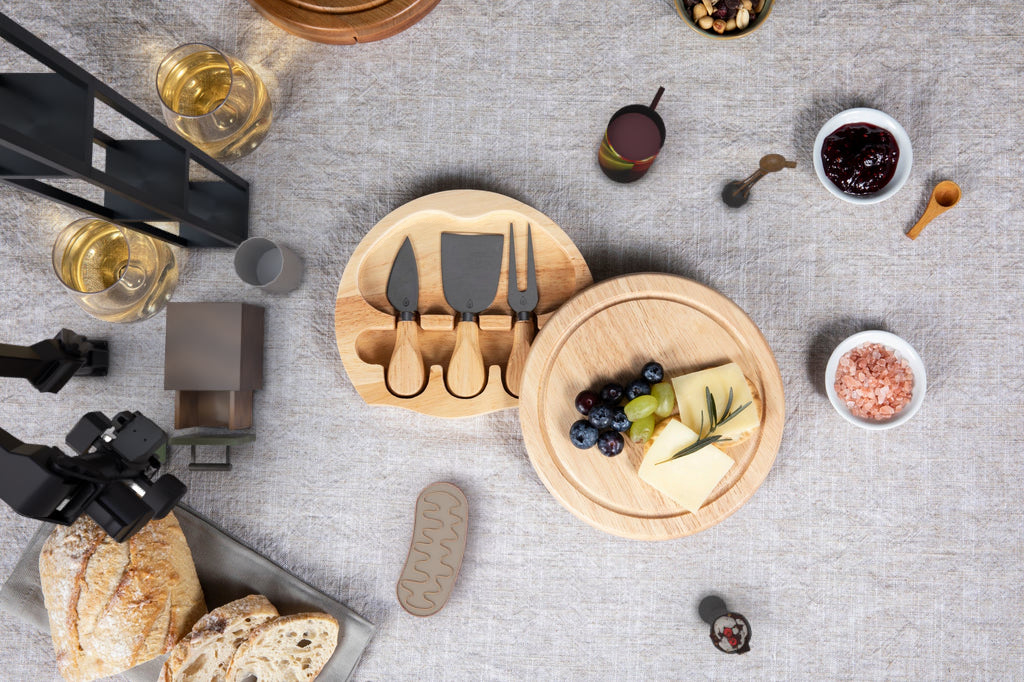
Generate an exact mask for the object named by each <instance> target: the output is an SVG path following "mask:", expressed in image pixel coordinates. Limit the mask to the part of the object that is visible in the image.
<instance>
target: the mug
mask: <svg viewBox="0 0 1024 682" xmlns="http://www.w3.org/2000/svg"><path fill="white" fill-rule="evenodd" d="M665 91H666V88H665V87H664V86H662V85H660V86H659V88H658V90H657V91H656V93H655V95H654V97H653V99H652V100H651V102H650V104H649V106H648V105H645V104H641V103H631V104H627V105H624V106H621V108H619V109H618V110H617V111H615V112H614V113H613V115H612V116H611V117H610V119H609V120H608V122H607V126H606V129H605V131H604V135H603V137H602V141H601V143H600V147H599V149H598V154H597V160H598V165H599V168H600V170H601V171H602V173H603V174H604V175H605V176H606V177H607V178H608V179H609V180H611V181H613V182H615V183H618V184H631V183H635V182H637V181H639V180H641V179H642V178H643V177H644V176H645V175H646V174H647V173H648V171H649V169H650V168H651V166H652V165H653V163H654V162H655V160H656V158H657V157H658V155H659V153H660V152H661V150H662V148H663V147H664V145H665V143H666V139H667V128H666V124H665V122H664V120H663V118H662V116H661V115H660V113H658V112H657V111H656V109H657V107H658V105H659V103H660V101H661V99H662V98H663V97H662V96H663V95H664V93H665Z"/></svg>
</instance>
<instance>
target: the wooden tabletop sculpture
mask: <svg viewBox="0 0 1024 682" xmlns="http://www.w3.org/2000/svg"><path fill="white" fill-rule="evenodd" d="M797 165H798V161H796V160H795V161H794V160H787V159H786V157H785V156H783V155H782V154H780V153H768V154H765V155H763V156H762V157H760V159H759V161H758V167H759V168H757V170H755V171H754V172H753V173H751V174H750V175H749V176H748V177H746V178H744V179H743V180H735V179H734V180H732V181H730V182H728V183H727V184H725V185H724V187H723V188H722V190H721V192H720V194H721V200H722V202H723V203H724V204H725V205H726V206H727V207H728V208H732V209H739V208H741V207H742V206H744V205H746V204H747V203H748V201H749V200H750V196H751V189H752V188H753V187H754V186H755V185H756V184H757V183H758V182H759V181H760V180H762V179H763V178H764V177H765V176H766V175H769V174H770V173H778V172H781V171H783V169H796V168H797Z"/></svg>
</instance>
